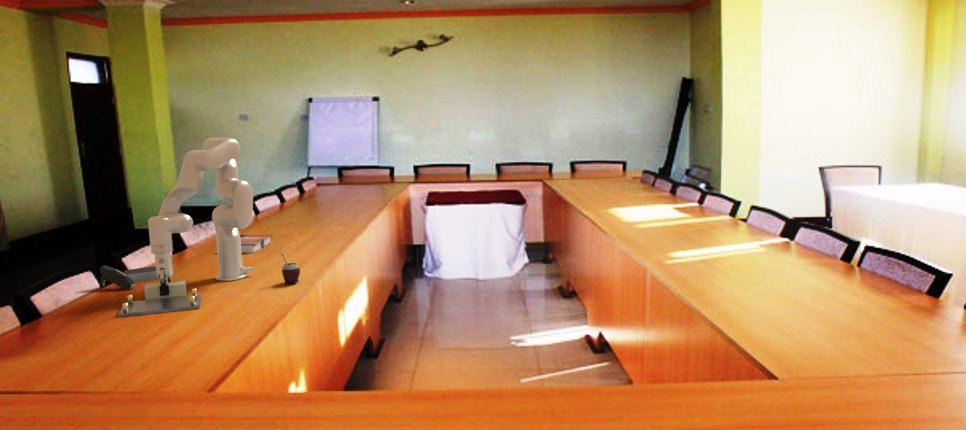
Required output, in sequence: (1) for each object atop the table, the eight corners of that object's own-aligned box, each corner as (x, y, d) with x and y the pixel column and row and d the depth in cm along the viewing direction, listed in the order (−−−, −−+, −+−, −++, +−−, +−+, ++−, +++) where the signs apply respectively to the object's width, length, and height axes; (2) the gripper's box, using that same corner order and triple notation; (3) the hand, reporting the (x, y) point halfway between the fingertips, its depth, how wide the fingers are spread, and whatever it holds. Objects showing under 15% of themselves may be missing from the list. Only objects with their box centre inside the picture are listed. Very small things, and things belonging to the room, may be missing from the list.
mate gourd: (303, 282, 263) (301, 247, 261) (286, 286, 258) (284, 250, 255) (294, 279, 268) (292, 245, 266) (277, 283, 263) (274, 248, 260)
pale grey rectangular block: (186, 292, 252) (185, 280, 251) (186, 296, 247) (184, 283, 246) (146, 296, 247) (145, 284, 246) (145, 300, 241) (144, 288, 240)
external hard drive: (174, 278, 274) (173, 269, 273) (123, 285, 265) (122, 275, 264) (171, 272, 285) (171, 263, 285) (122, 278, 276) (121, 269, 275)
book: (254, 254, 320) (254, 244, 320) (220, 254, 321) (219, 244, 320) (272, 243, 346) (272, 234, 345) (241, 243, 347) (240, 234, 346)
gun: (125, 303, 257) (133, 282, 255) (93, 283, 259) (100, 263, 256) (131, 301, 260) (138, 280, 257) (99, 282, 261) (106, 261, 259)
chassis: (201, 297, 244) (200, 286, 243) (199, 308, 230) (198, 297, 229) (125, 305, 235) (124, 294, 234) (118, 317, 221) (116, 305, 220)
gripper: (170, 251, 237) (174, 297, 240) (174, 243, 253) (178, 286, 256) (147, 253, 234) (152, 299, 237) (153, 244, 250) (157, 288, 253)
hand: (165, 292), depth 246 cm, fingers open, 7 cm apart
